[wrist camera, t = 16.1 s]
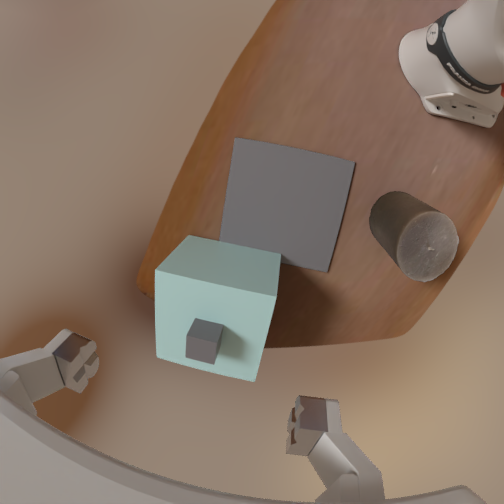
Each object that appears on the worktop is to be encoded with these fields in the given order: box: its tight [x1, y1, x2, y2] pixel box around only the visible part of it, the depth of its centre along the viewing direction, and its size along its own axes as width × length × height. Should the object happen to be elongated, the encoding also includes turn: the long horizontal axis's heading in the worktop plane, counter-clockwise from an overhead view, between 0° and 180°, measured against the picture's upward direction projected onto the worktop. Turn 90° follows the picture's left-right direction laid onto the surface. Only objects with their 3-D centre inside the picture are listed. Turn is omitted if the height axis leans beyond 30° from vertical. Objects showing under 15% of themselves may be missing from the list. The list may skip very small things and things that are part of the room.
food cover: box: [155, 235, 281, 382], centre depth 44 cm, size 16×16×18 cm
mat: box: [219, 137, 355, 272], centre depth 46 cm, size 19×19×1 cm
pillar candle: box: [369, 191, 459, 282], centre depth 38 cm, size 10×10×15 cm
